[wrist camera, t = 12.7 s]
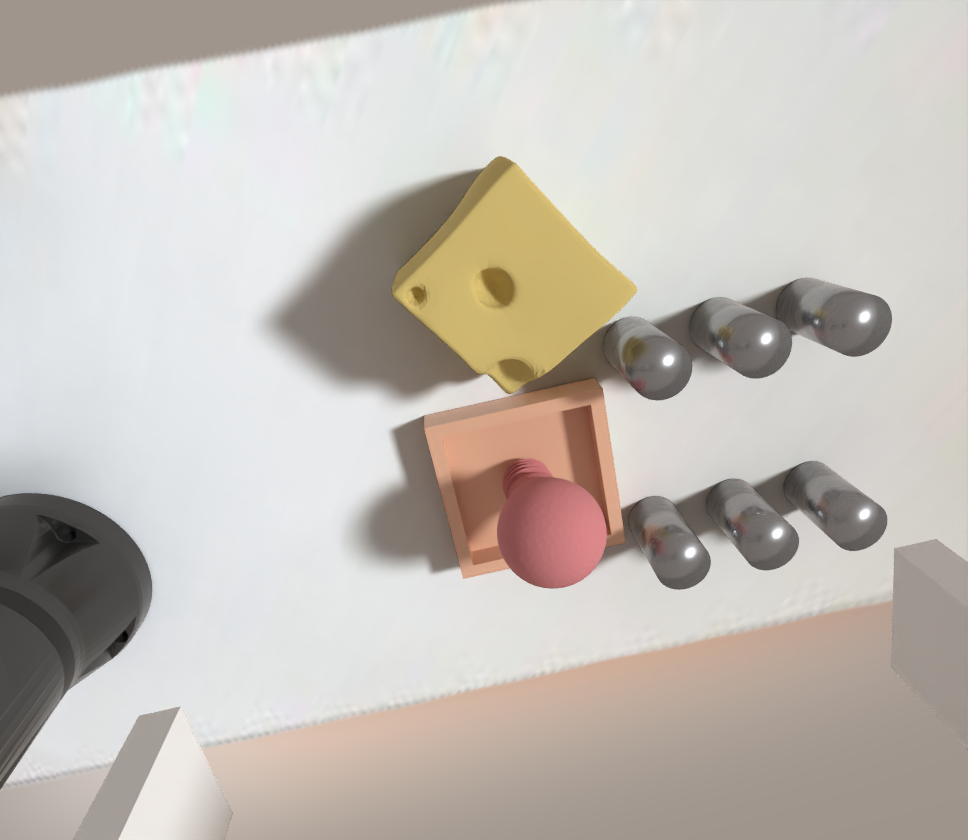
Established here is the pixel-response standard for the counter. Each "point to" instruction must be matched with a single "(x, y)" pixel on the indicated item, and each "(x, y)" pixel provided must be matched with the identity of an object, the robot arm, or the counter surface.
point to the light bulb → (548, 527)
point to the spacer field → (755, 354)
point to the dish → (512, 437)
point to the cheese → (510, 280)
